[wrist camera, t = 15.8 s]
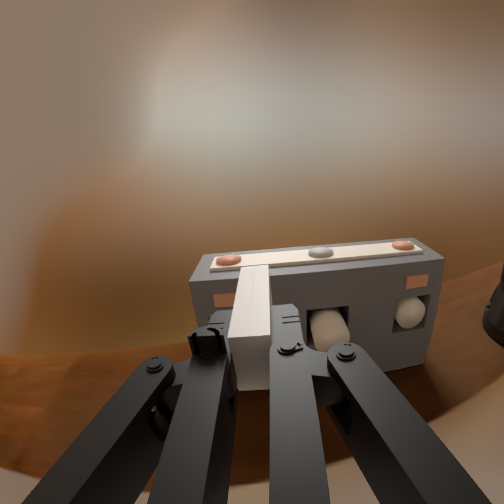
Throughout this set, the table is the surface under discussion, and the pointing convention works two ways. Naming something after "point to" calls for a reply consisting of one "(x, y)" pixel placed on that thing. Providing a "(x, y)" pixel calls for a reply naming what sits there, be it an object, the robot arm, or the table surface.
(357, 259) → the button panel
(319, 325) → the button middle
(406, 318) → the button
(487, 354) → the table surface
